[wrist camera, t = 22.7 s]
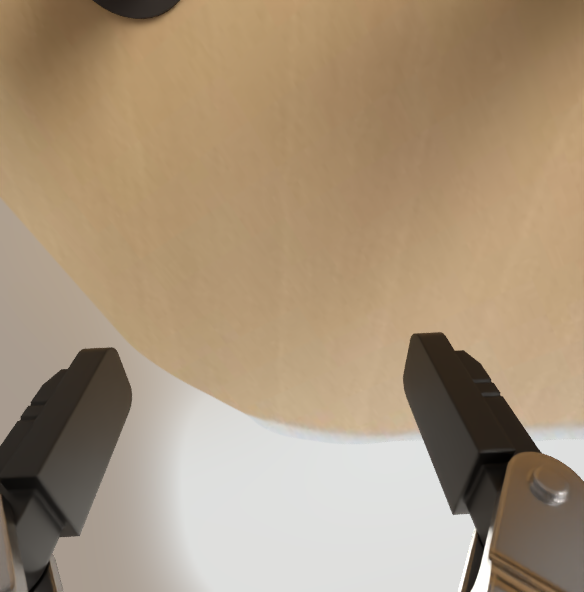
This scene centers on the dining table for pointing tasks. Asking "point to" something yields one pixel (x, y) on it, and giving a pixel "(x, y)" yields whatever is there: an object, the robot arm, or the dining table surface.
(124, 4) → the coaster
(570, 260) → the dining table surface
